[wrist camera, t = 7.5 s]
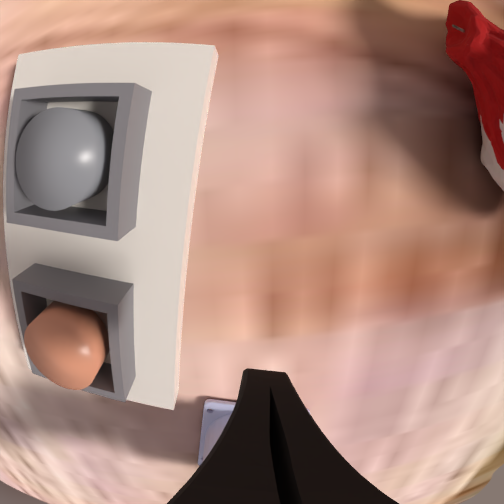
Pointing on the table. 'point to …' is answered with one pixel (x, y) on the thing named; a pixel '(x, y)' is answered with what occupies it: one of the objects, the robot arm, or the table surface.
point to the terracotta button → (67, 344)
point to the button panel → (115, 204)
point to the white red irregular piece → (481, 76)
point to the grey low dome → (64, 157)
